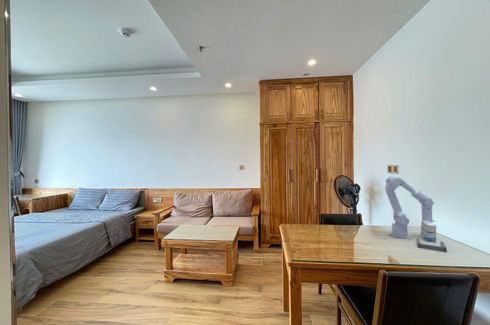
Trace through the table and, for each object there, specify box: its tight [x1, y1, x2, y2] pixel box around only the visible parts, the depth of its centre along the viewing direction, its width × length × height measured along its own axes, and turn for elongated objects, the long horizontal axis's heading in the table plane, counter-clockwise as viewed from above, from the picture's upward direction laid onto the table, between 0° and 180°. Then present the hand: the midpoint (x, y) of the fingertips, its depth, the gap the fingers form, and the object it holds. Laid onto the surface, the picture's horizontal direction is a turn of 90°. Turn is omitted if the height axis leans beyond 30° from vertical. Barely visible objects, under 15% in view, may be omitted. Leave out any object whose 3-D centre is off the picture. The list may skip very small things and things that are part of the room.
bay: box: [416, 237, 448, 253], centre depth 138 cm, size 13×12×2 cm
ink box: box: [420, 220, 437, 243], centre depth 149 cm, size 8×5×12 cm, turn 168°
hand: (427, 232), depth 154 cm, fingers closed, pressing on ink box
